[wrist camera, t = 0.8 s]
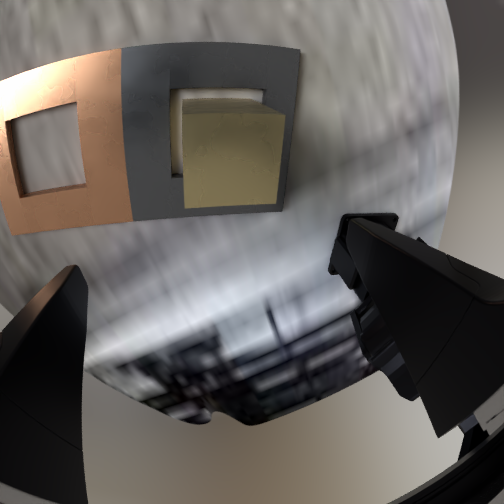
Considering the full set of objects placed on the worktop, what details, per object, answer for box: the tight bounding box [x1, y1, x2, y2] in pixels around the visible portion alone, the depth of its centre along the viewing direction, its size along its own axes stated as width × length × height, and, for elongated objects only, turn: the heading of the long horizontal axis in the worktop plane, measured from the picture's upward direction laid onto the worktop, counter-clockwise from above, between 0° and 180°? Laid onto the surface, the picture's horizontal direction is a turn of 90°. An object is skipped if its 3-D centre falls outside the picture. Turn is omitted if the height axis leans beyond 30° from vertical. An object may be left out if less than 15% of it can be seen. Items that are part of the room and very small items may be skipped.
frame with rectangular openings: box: [0, 42, 300, 236], centre depth 16 cm, size 22×12×1 cm, turn 85°
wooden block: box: [182, 98, 286, 208], centre depth 15 cm, size 4×4×7 cm
